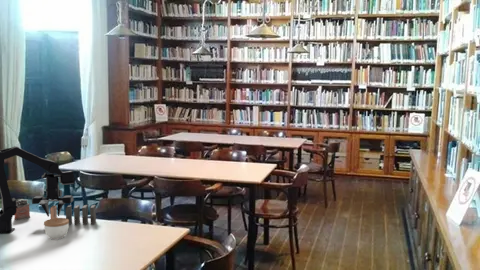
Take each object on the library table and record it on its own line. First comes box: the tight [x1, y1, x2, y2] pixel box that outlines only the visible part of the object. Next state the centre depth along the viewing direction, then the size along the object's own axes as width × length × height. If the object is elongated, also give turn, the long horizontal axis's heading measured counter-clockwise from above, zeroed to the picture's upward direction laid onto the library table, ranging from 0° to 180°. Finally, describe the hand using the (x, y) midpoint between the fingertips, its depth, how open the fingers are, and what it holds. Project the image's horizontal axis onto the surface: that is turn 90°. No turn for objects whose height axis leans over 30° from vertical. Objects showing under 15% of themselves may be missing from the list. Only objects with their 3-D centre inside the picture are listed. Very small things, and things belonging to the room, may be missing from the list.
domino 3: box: [73, 204, 81, 226], centre depth 229 cm, size 5×2×9 cm, turn 6°
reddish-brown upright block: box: [13, 199, 31, 221], centre depth 238 cm, size 8×3×10 cm, turn 141°
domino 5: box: [89, 204, 97, 226], centre depth 230 cm, size 5×2×9 cm, turn 6°
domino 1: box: [49, 205, 58, 219], centre depth 228 cm, size 5×2×9 cm, turn 6°
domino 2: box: [65, 204, 73, 226], centre depth 229 cm, size 5×2×9 cm, turn 6°
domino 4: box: [81, 204, 89, 226], centre depth 230 cm, size 5×2×9 cm, turn 6°
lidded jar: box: [43, 216, 70, 240], centre depth 208 cm, size 11×11×9 cm
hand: (53, 216), depth 228 cm, fingers open, 5 cm apart
